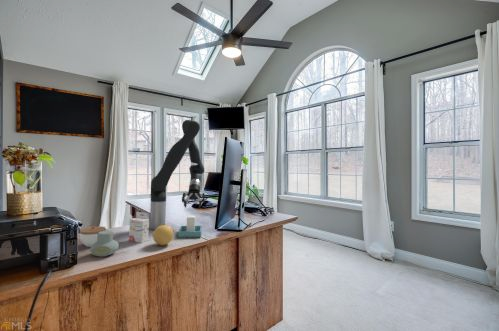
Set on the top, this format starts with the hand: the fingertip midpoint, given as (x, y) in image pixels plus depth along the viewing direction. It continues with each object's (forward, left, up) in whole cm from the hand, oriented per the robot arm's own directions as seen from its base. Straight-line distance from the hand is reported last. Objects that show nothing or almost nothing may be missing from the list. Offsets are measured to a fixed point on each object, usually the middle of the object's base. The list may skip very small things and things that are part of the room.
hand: (192, 207), depth 146 cm
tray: (0, -9, -15) cm, 17 cm away
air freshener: (-35, -37, -15) cm, 53 cm away
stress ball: (-12, -26, -15) cm, 32 cm away
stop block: (0, -9, -14) cm, 17 cm away
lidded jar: (-46, -24, -15) cm, 54 cm away
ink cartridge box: (-26, -19, -15) cm, 35 cm away
